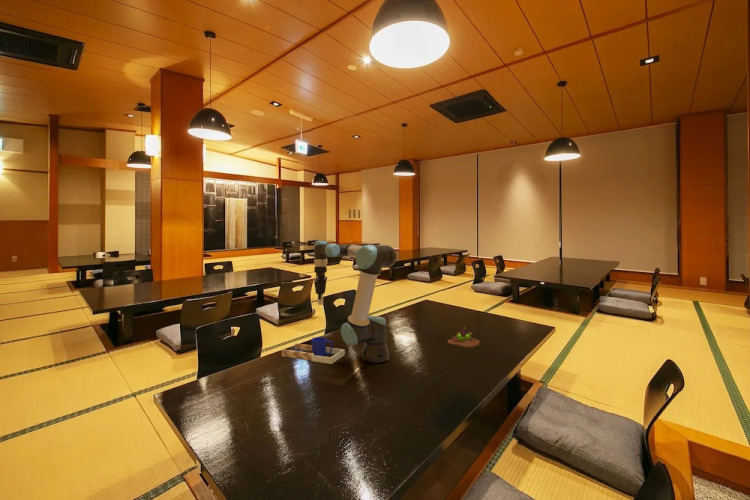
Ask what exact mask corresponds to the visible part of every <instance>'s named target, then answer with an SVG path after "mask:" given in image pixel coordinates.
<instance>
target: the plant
mask: <svg viewBox="0 0 750 500" xmlns="http://www.w3.org/2000/svg"><path fill="white" fill-rule="evenodd" d="M465 329H467V328H466V326H463V327H462V330H460V331H458V332H457V335H455V336H452V337H451V339H447V343H448V344H450V345H454V346H457V347H458V346H459V347H463V348H469V349H470V348H475V347H478V346H479V345H480V343H481V342H480V340H478V339H477V338H475V337H473V338H472V332H471V331H466V332H465Z"/></svg>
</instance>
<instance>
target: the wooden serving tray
mask: <svg viewBox="0 0 750 500" xmlns="http://www.w3.org/2000/svg"><path fill="white" fill-rule="evenodd" d="M297 345H298V346H297ZM295 346H296V347H295ZM294 349H295V350H291V349H285V348H284V349H283V348H282V349H281V357H285V358H290V359H292V358H293V359H300V360H306V361H312V355H314V353H312V344H303V343H295V344H294ZM296 349H297V350H296ZM299 350H301V351H299Z"/></svg>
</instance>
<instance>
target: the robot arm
mask: <svg viewBox="0 0 750 500" xmlns="http://www.w3.org/2000/svg"><path fill="white" fill-rule="evenodd" d="M313 248H314V249H313V252H314V254H313V255H314V257H313V258H314V264H313V265H314V268H313V270H314V273H315V277H314V278H313V282H314V290H315V294H316V295H317V305H318V306H323V305H324V294H325V293H326V287H327V280H328V276H326V273H328V272H327V271H328V269H327V265H328V262H327V261H328V257H329V258H334V257H336V258H337V257H341V258H343V257H346V258H347V257H348V258H354V259H355V264H356V266H357V267H358V271H359V278H358V282H357V287H356V293H355V298H354V301H353V305H352V311H351V314H350V315H348V317H347V320H346V321H347V322H344V323H343V324H341V327H340V334H341V339H342V340H343V342H344V343H345V344H346V345H348V346H357V345H360V344H364V346H363V349H362V353H361V359H362V360H363V361H365V362H368V363H383V362H387V361H388V360H389V359H390V353H389V350H388V347H387V321H386V318H385V317H383V316H377V315H376V316H375V315H369V314H370V309H371V305H372V300H373V296H374V291H375V286H376V282H377V278H378V276H380V275H381V273H382V269H387V268H390V267H392V266H393V265H394V264H395V263H396V262H397V259H398V254H397V251H396V250H395V248H393V247H392V246H390V245H387V244H386V245H380V244H377V245H376V244H365V245H358V244H357V245H356V244H351V243H347V244H346V243H343V244H341V243H328V242H327V241H326V240H316V241H315V242H314V246H313Z"/></svg>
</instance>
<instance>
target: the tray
mask: <svg viewBox="0 0 750 500" xmlns="http://www.w3.org/2000/svg"><path fill="white" fill-rule="evenodd" d="M330 350H331V347H327V346H326V353H329V352H330ZM345 351H346V350H345V349H343V348H334V347H332V351H331V353H330V354H332V356H324V357H323V356H316V355H312V360H311V362H316V363H323V364H330V365H332V364H334V363H335V362H336V361H338V360H340V359H341V358H342V357H343V356H345V353H346V352H345Z"/></svg>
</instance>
